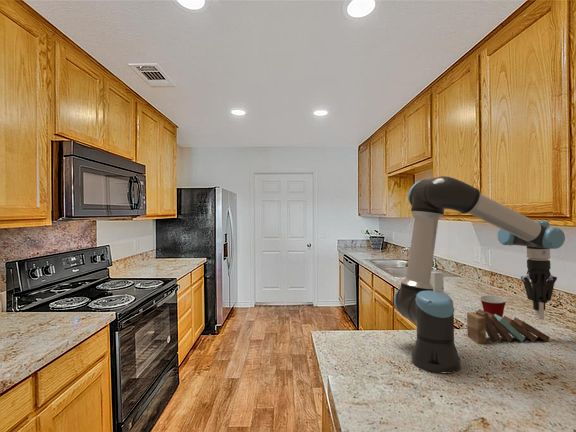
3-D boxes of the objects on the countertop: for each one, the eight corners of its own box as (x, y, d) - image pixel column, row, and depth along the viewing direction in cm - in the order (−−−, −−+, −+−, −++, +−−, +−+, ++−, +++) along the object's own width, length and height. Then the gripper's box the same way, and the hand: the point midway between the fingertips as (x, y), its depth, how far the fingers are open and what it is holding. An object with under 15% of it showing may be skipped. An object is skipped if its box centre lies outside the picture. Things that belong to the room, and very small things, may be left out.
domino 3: (516, 333, 137) (494, 313, 137) (525, 338, 132) (502, 317, 132) (513, 337, 137) (491, 317, 137) (521, 341, 132) (498, 321, 132)
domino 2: (509, 342, 132) (489, 318, 132) (501, 337, 137) (482, 314, 137) (513, 338, 132) (493, 315, 132) (505, 334, 137) (486, 311, 137)
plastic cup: (477, 325, 153) (477, 298, 153) (481, 318, 161) (481, 293, 161) (506, 329, 146) (505, 302, 146) (508, 323, 155) (508, 296, 155)
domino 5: (547, 341, 132) (520, 325, 132) (538, 337, 137) (512, 321, 137) (550, 337, 132) (523, 321, 132) (540, 332, 137) (515, 317, 137)
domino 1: (496, 342, 132) (482, 315, 132) (489, 337, 137) (475, 311, 137) (501, 339, 132) (486, 312, 132) (493, 335, 137) (479, 309, 137)
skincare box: (435, 297, 203) (434, 273, 203) (426, 295, 209) (426, 271, 209) (444, 296, 207) (444, 271, 207) (436, 294, 213) (435, 270, 213)
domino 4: (534, 341, 132) (509, 323, 132) (525, 337, 137) (501, 319, 137) (537, 337, 132) (512, 319, 132) (528, 333, 137) (504, 315, 137)
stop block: (478, 343, 131) (477, 318, 131) (467, 336, 139) (467, 312, 139) (485, 343, 131) (485, 318, 131) (474, 336, 139) (474, 312, 139)
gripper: (528, 260, 131) (529, 321, 131) (562, 260, 131) (563, 321, 131) (515, 258, 138) (516, 315, 138) (547, 257, 138) (548, 315, 138)
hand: (539, 318), depth 134 cm, fingers closed
